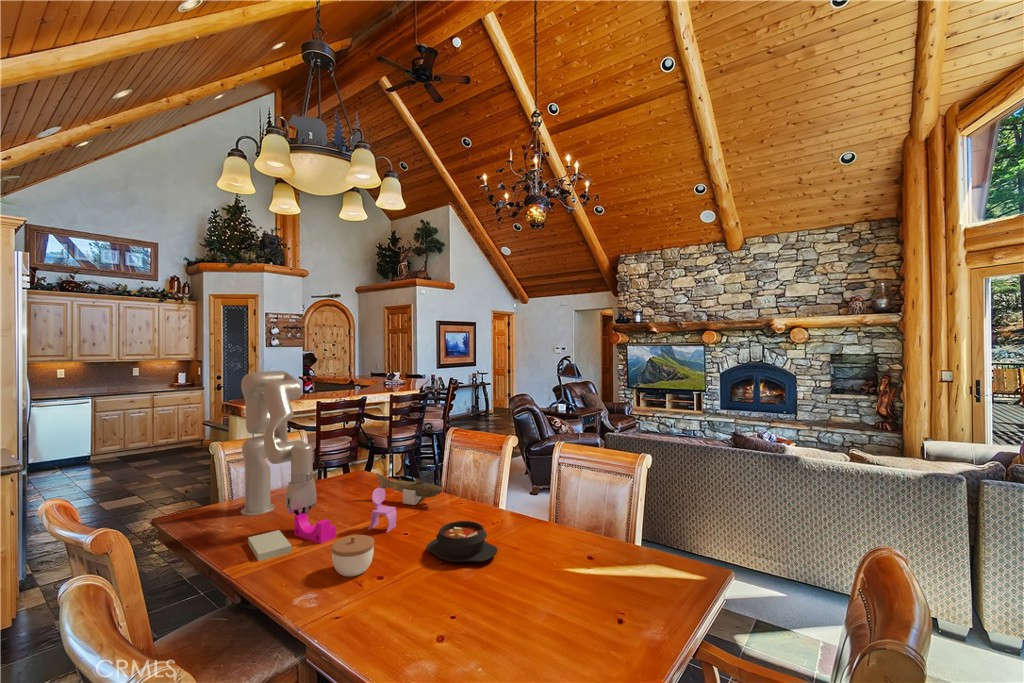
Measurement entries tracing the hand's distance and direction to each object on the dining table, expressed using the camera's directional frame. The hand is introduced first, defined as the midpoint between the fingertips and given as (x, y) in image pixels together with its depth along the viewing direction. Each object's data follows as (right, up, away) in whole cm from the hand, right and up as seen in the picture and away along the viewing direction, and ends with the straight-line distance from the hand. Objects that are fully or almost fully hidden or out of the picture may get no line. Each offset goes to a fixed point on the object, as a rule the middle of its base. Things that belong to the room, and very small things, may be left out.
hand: (301, 525), depth 173 cm
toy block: (+7, -3, -5) cm, 10 cm away
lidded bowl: (+31, -2, -31) cm, 44 cm away
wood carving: (+33, -2, +32) cm, 46 cm away
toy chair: (+30, -2, +2) cm, 30 cm away
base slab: (-4, -3, -16) cm, 16 cm away
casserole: (+63, -2, -20) cm, 66 cm away
